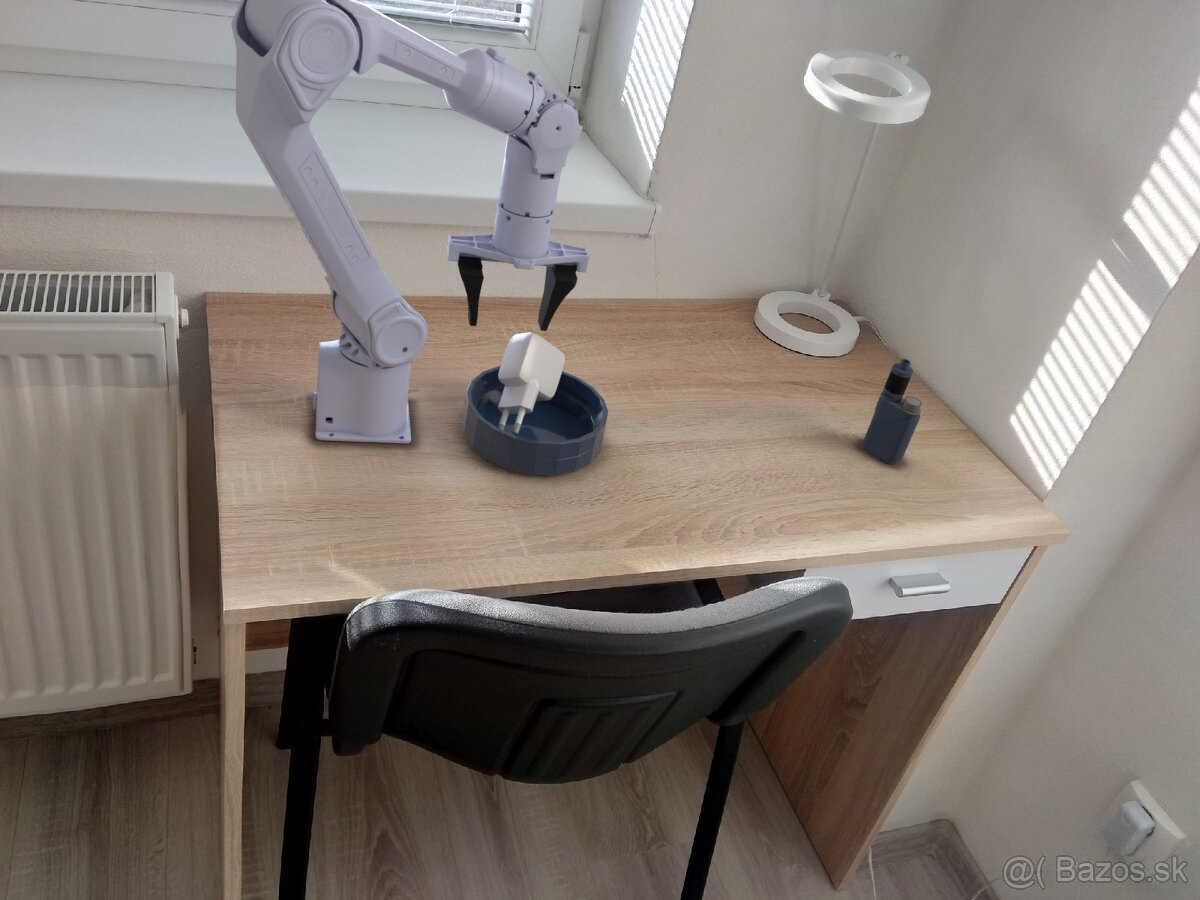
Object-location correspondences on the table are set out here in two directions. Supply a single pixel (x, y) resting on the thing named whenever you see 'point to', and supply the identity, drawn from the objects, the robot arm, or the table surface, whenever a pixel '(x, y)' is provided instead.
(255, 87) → the robot arm
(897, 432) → the vaping device
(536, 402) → the bowl
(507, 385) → the power adapter
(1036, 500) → the table surface
